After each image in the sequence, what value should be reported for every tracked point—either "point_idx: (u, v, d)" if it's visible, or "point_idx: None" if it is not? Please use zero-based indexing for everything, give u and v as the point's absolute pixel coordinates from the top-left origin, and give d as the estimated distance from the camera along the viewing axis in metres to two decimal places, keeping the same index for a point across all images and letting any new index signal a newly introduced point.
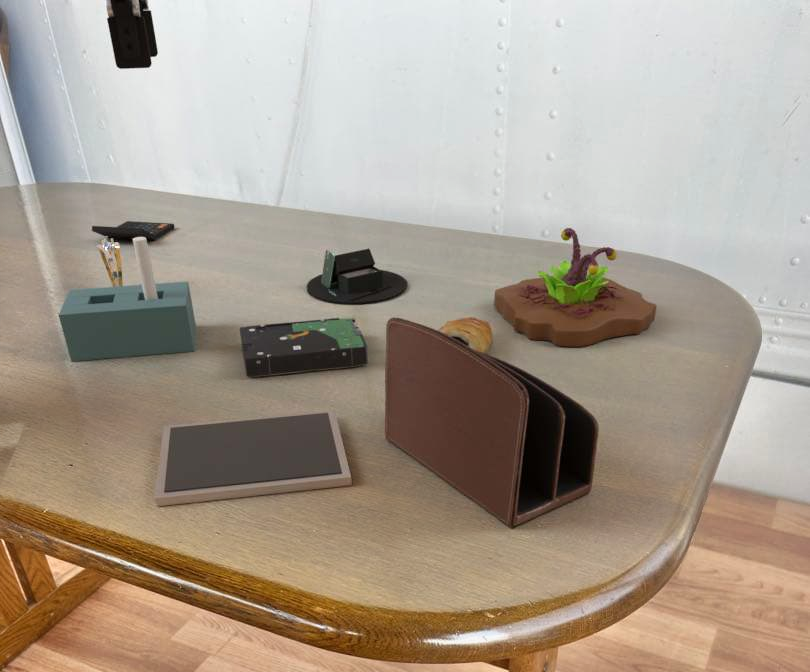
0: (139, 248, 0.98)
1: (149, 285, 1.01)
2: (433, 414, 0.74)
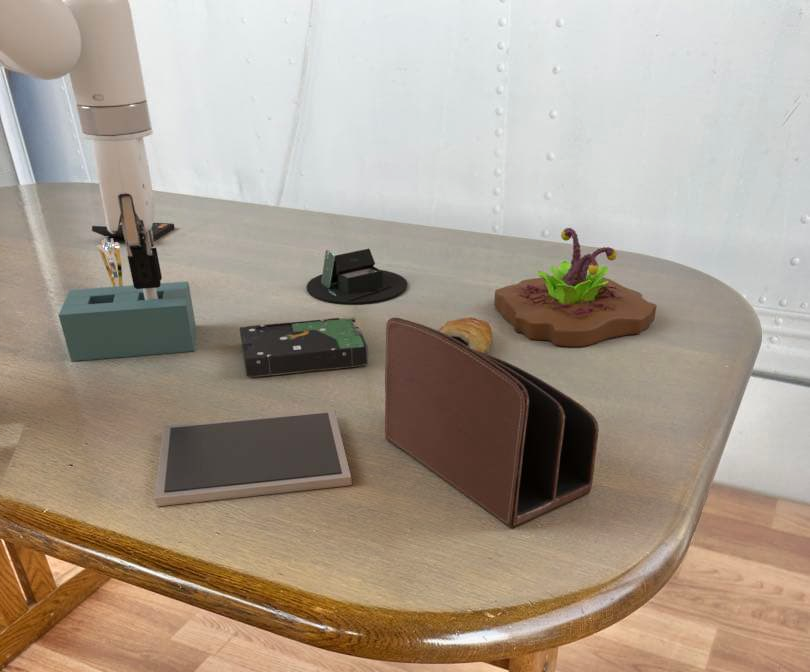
0: None
1: None
2: (433, 414, 0.74)
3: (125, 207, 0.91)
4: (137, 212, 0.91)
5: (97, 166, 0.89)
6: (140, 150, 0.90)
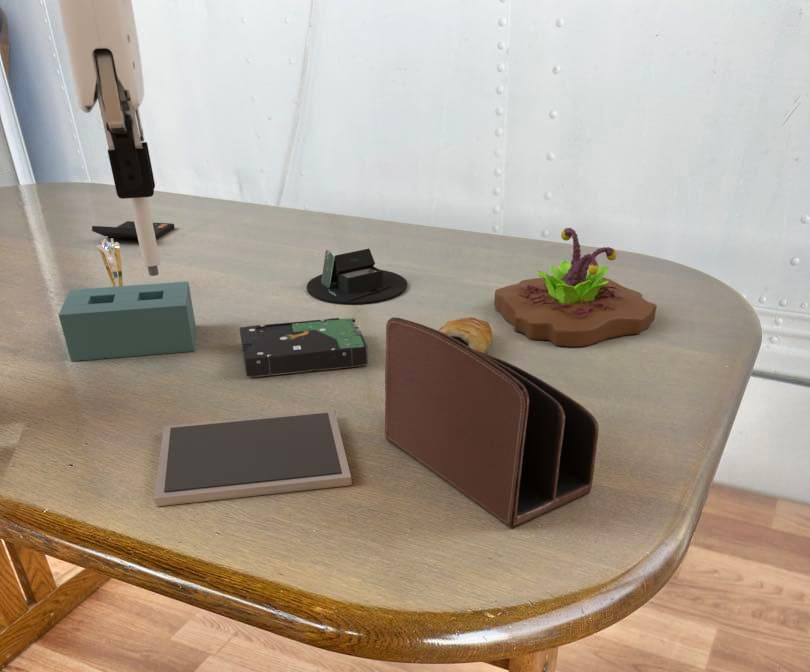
0: None
1: None
2: (433, 414, 0.74)
3: (102, 70, 0.64)
4: (120, 77, 0.64)
5: (61, 5, 0.61)
6: None
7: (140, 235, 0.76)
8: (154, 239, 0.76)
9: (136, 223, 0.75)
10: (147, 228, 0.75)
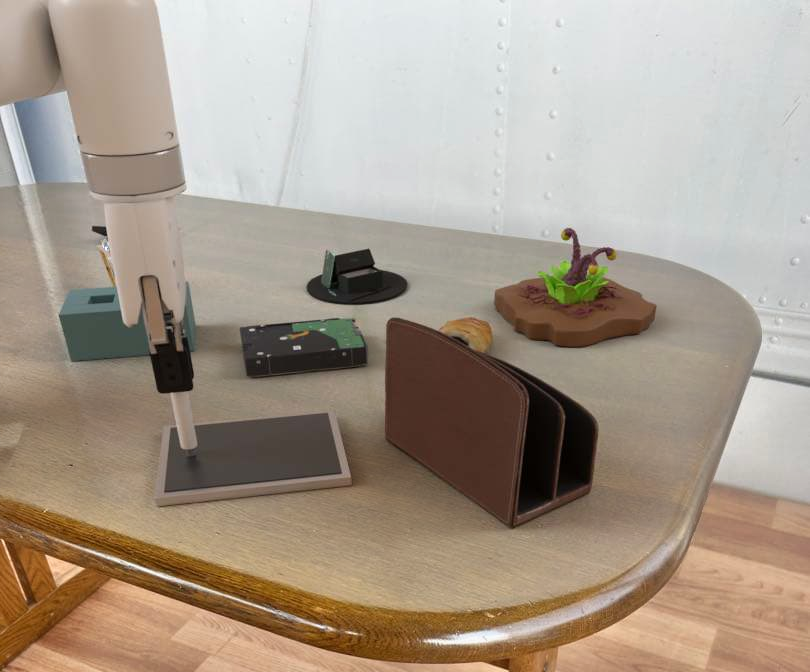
0: None
1: None
2: (433, 414, 0.74)
3: (148, 292, 0.65)
4: (165, 299, 0.65)
5: (110, 238, 0.63)
6: (170, 214, 0.64)
7: (179, 422, 0.77)
8: (192, 425, 0.77)
9: (175, 412, 0.76)
10: (186, 416, 0.76)
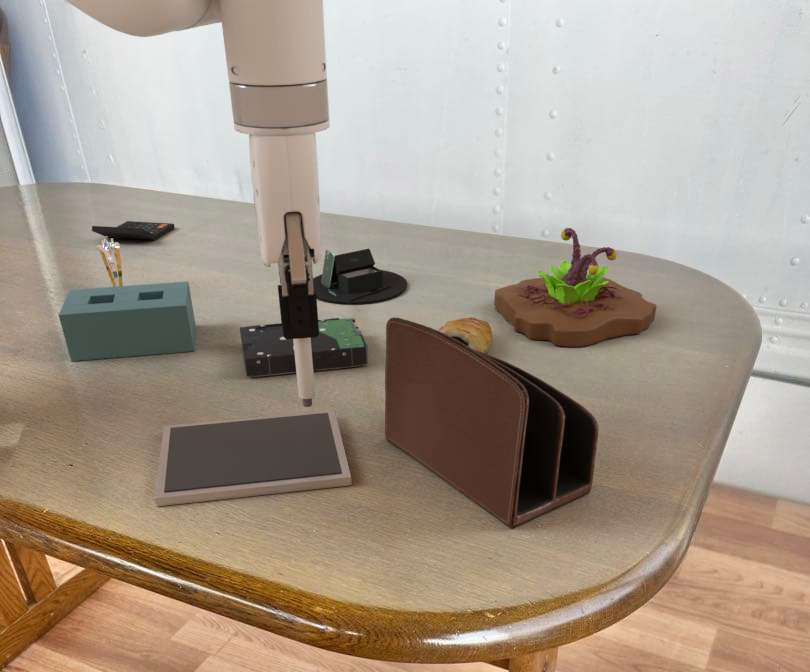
0: None
1: None
2: (433, 414, 0.74)
3: (290, 230, 0.64)
4: (308, 237, 0.65)
5: (258, 172, 0.62)
6: (315, 149, 0.63)
7: (300, 371, 0.76)
8: (312, 373, 0.76)
9: (297, 360, 0.75)
10: (307, 364, 0.75)
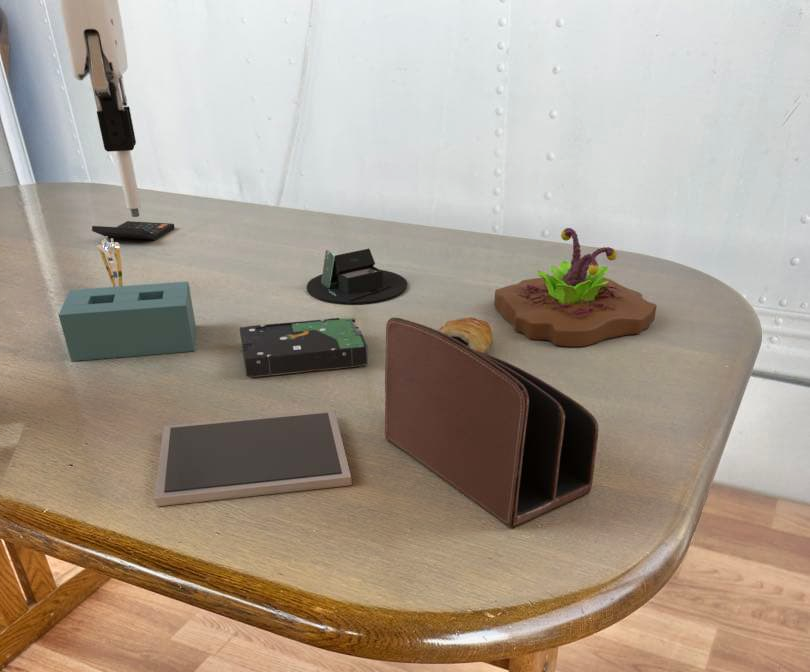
0: None
1: None
2: (433, 414, 0.74)
3: (91, 46, 0.82)
4: (105, 52, 0.82)
5: None
6: None
7: (124, 182, 0.93)
8: (135, 186, 0.94)
9: (120, 172, 0.93)
10: (129, 176, 0.93)
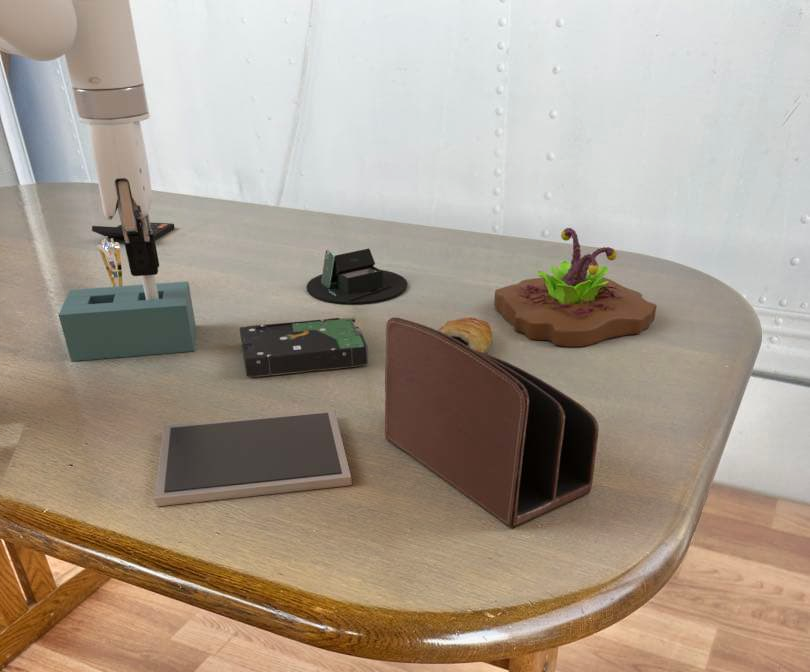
0: None
1: None
2: (433, 414, 0.74)
3: (121, 192, 0.90)
4: (134, 197, 0.91)
5: (93, 150, 0.88)
6: (137, 134, 0.89)
7: None
8: None
9: (145, 292, 1.01)
10: (153, 296, 1.01)
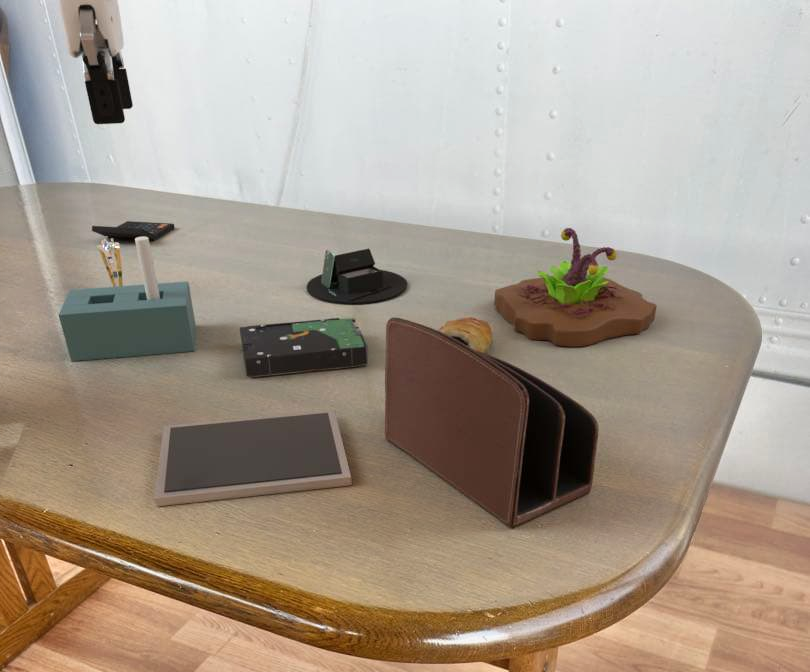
0: (142, 248, 0.98)
1: (152, 285, 1.01)
2: (433, 414, 0.74)
3: (83, 10, 0.80)
4: (100, 28, 0.81)
5: None
6: None
7: None
8: None
9: None
10: None
